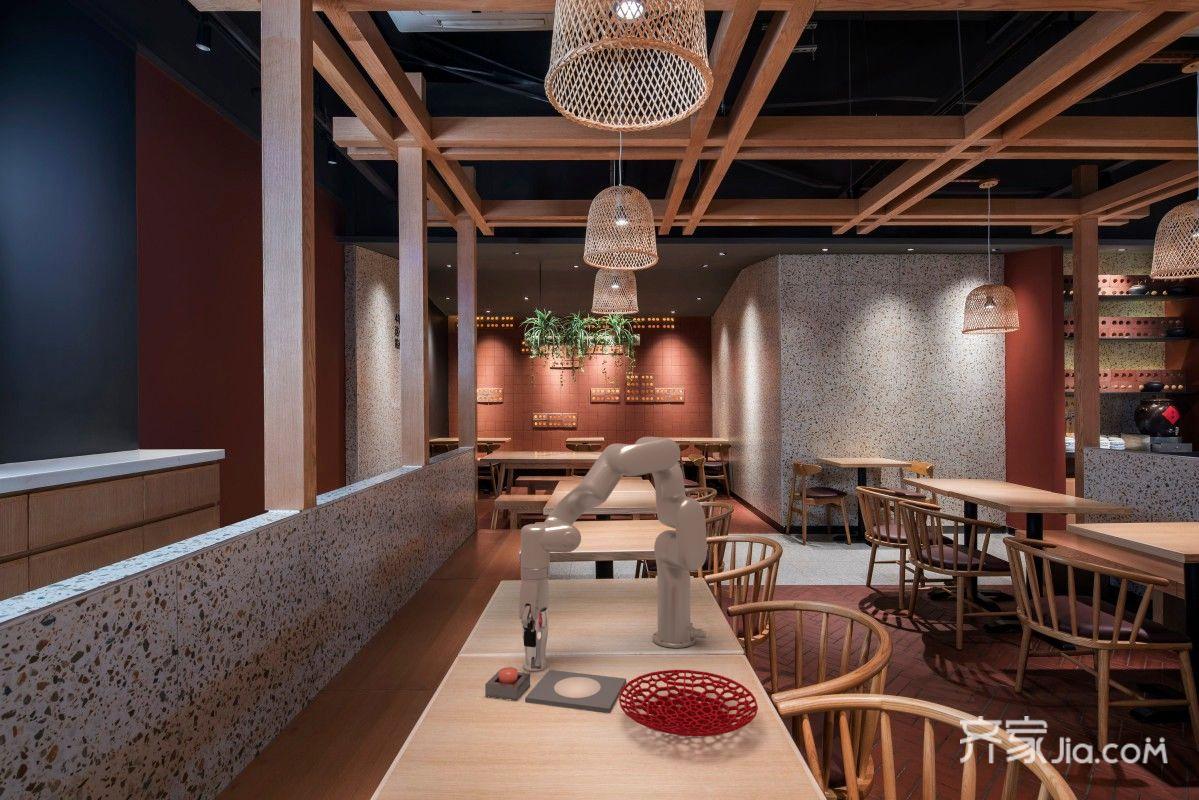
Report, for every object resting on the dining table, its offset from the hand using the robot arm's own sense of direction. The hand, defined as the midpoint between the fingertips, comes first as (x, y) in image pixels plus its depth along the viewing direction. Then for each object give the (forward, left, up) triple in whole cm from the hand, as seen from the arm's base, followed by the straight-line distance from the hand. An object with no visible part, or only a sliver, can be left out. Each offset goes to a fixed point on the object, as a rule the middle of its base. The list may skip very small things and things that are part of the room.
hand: (535, 640), depth 162 cm
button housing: (+1, +15, -7) cm, 16 cm away
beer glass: (0, 0, -7) cm, 7 cm away
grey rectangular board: (-15, +11, -7) cm, 20 cm away
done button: (+1, +15, -5) cm, 16 cm away
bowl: (-42, +18, -7) cm, 46 cm away
